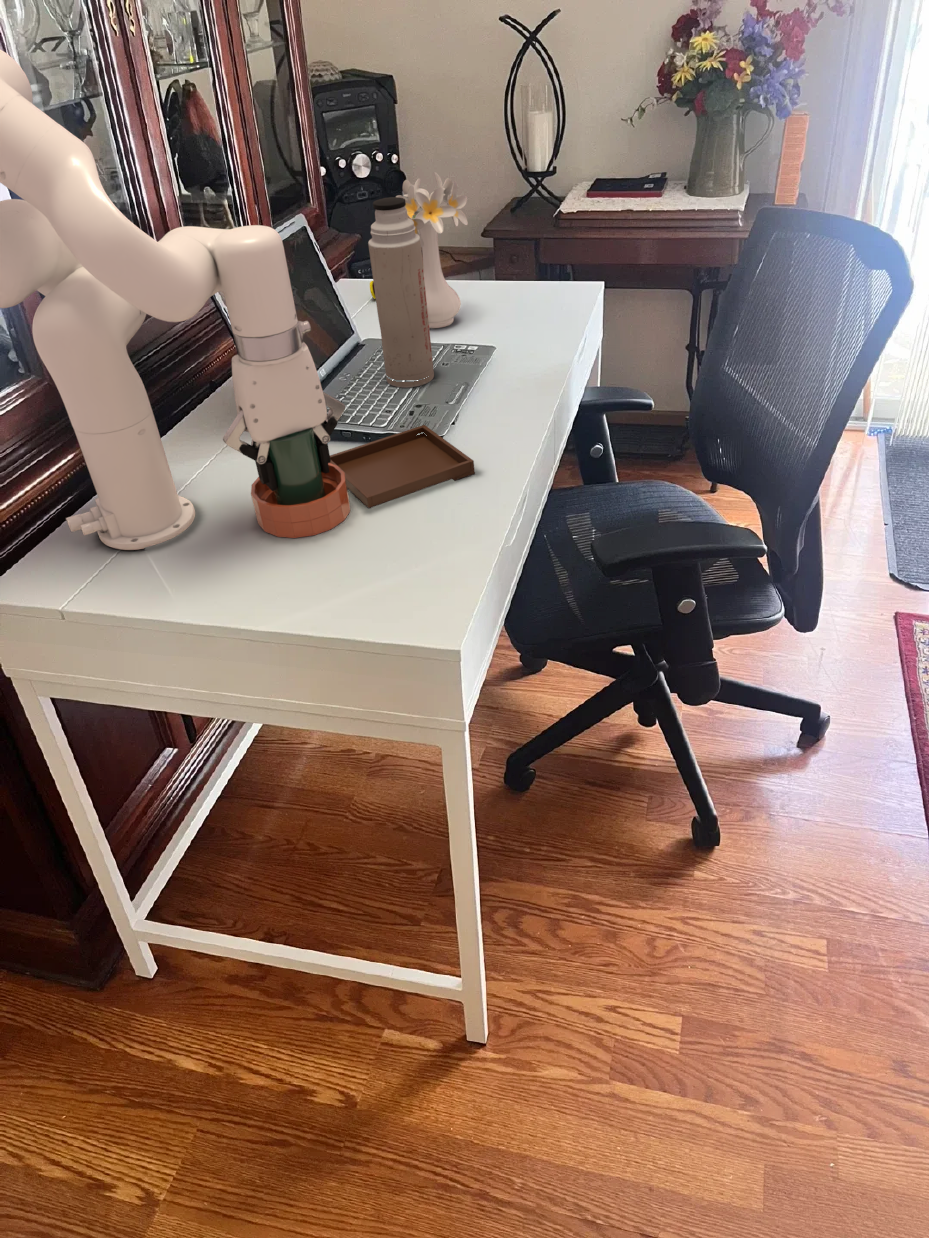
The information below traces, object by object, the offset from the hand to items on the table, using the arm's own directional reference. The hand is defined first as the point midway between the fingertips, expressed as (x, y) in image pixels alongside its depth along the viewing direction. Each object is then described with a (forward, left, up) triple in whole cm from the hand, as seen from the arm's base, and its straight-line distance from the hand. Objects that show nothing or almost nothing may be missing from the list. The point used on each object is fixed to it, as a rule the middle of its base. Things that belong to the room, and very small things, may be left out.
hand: (296, 476), depth 120 cm
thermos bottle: (+32, +31, -6) cm, 45 cm away
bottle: (0, 0, -5) cm, 5 cm away
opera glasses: (+49, +72, -6) cm, 87 cm away
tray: (+15, +3, -6) cm, 17 cm away
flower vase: (+48, +50, -6) cm, 70 cm away
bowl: (0, 0, -6) cm, 6 cm away
